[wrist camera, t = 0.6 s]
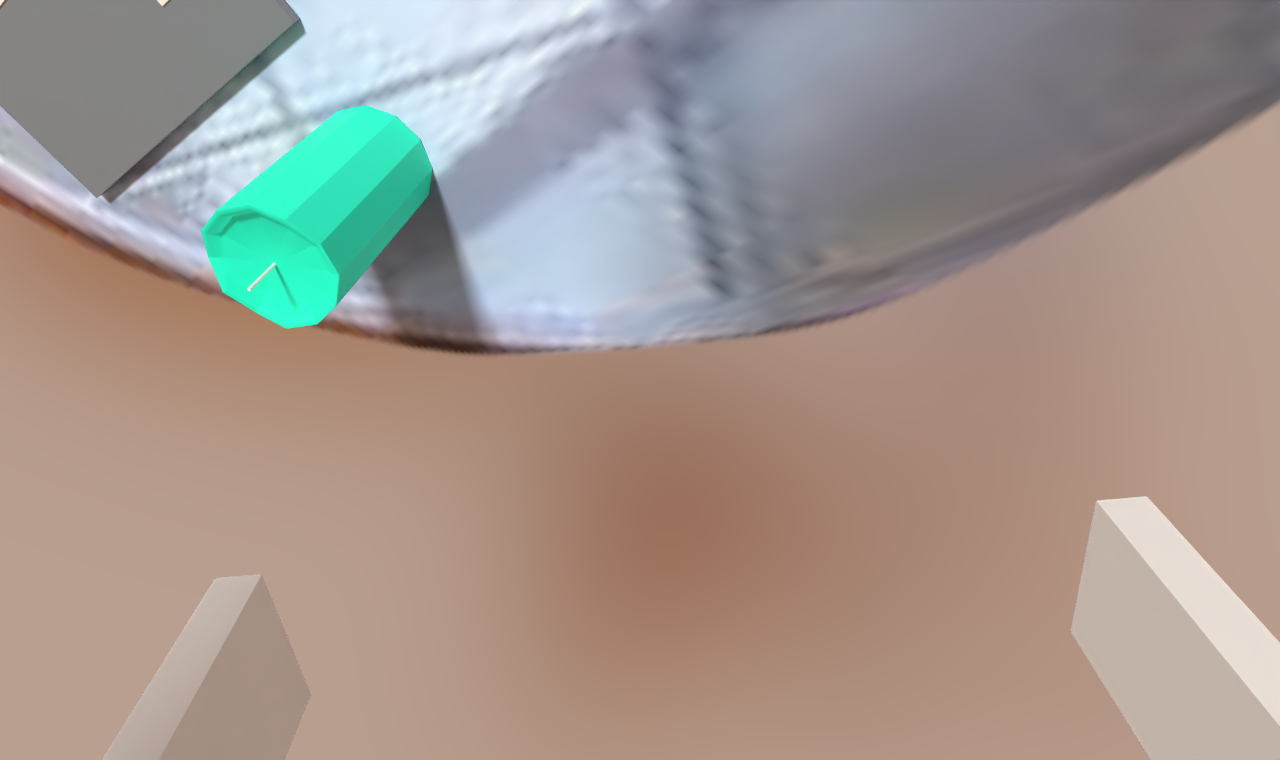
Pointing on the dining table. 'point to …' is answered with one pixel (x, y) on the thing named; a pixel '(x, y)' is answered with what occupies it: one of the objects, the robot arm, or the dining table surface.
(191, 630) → the robot arm
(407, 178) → the candle
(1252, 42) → the dining table surface
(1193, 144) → the dining table surface
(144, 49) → the letter pad
